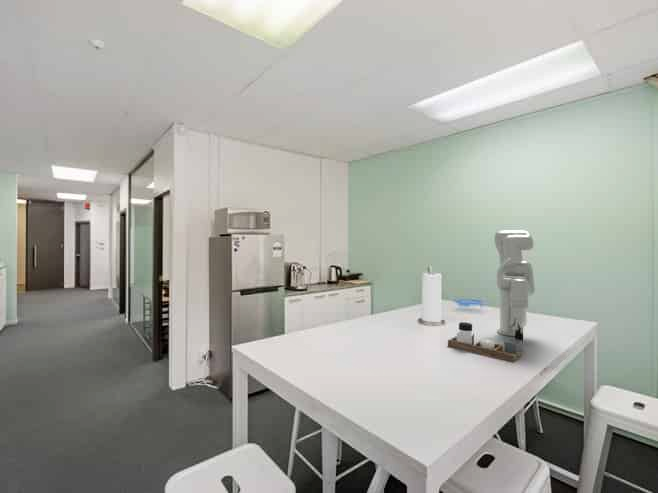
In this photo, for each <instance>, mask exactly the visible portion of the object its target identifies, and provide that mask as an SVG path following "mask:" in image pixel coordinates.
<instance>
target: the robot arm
mask: <svg viewBox="0 0 658 493" xmlns="http://www.w3.org/2000/svg"><path fill="white" fill-rule="evenodd" d="M494 243H495V244H494V245H495V247H496V250H497V252H498V254H499V266H498V268H497V270H496V282H497V283H496V284H497V289H498V291H499V300H500V302H499V303H500V304H499V306H500V308H499V310H500V311H499V313H500V314H499V315H500V316H499V322H500V323H499V328H497V329H496V332H497V333H498V334H500V335H504V336H509V337H514V339H518V340H522V342H523V341H524V327H526V326H527V309H528V308H529V296H531V297H532V296H533V295H534V294H535V291H536V290H535V289H536V288H535V279H534V278H535V277H534V271H533V266H532V264H531V262H529V261H528V260H527V261H526V260H523V252H522V251H531V250H532V249H534V239H533V237H532V235H531V234H530V232H528V231H527V230H500V231H497V232H496V233H495V234H494Z"/></svg>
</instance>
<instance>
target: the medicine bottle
mask: <svg viewBox="0 0 658 493" xmlns="http://www.w3.org/2000/svg"><path fill="white" fill-rule="evenodd" d="M456 336H457V342H461V343H465V344H470V345H474V344H475V332H474V331H473V323H470V322H467V321H461V322H459V323H458V331H457V332H456Z"/></svg>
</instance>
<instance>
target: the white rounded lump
mask: <svg viewBox="0 0 658 493" xmlns="http://www.w3.org/2000/svg"><path fill="white" fill-rule="evenodd" d="M479 341H480V347H483V348H488V349H492V350H494V348H495V344H496V342H495V341H493V340H490V339H480V340H479Z"/></svg>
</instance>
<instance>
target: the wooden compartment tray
mask: <svg viewBox="0 0 658 493" xmlns="http://www.w3.org/2000/svg"><path fill="white" fill-rule="evenodd" d="M503 346H504V344H499V343H495V348H494V350H492V349H488V348H483V347H480V340H479V341H478V342H475V343H474V345H470V344H465V343H461V342H457V335H456V336H454V337H452V338H449V339H448V340H447V347H451V348H455V349H458V350H463V351H468V352H471V353H474V354H475V353H476V354H479V355H484V356H488V357H492V358H495V359H501V360H504V361H509V362H513V363H514V362H515V361H517V360H518V359H519V358H520V357H522V351H518V352H517V353H516V354H515V355H514V354H510V353H505V352H504V349H503V348H504V347H503Z"/></svg>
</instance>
